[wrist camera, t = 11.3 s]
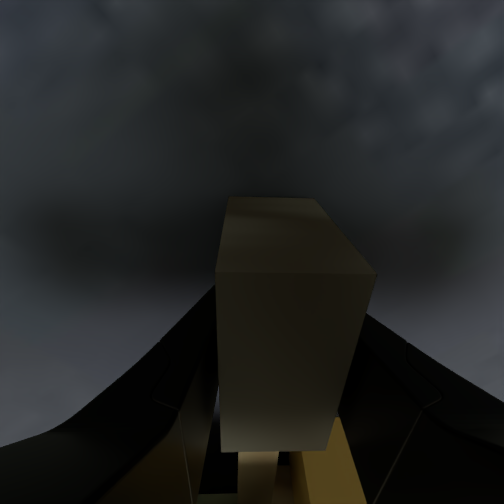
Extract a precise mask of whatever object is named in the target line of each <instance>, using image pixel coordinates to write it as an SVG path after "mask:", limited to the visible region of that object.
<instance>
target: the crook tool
mask: <svg viewBox="0 0 504 504" xmlns="http://www.w3.org/2000/svg"><path fill="white" fill-rule="evenodd" d="M376 277H377V273H376V272H375V271H374V270H373V269H372V267H371V266H370V265H369V264H368V263H367V261H366V260H365V259H364V258H363V256H362V255H361V254H360V253H359V252H358V250H357V249H356V248H355V247H354V246H353V244H352V243H351V242H350V241H349V240H348V238H347V237H346V236H345V235H344V234H343V232H342V231H341V230H340V229H339V228H338V226H337V225H336V224H335V223H334V222H333V220H332V219H331V218H330V217H329V216H328V214H327V213H326V212H325V211H324V210H323V208H322V207H321V206H320V205H319V204H318V202H317V201H316V200H315V199H314V198H278V197H238V196H229V197H228V203H227V208H226V214H225V219H224V225H223V230H222V236H221V241H220V247H219V252H218V258H217V263H216V269H215V288H216V317H217V345H218V374H219V402H220V430H221V452H238V500H237V504H294V497H293V489H292V481H291V474H290V466H289V465H277V462H278V455H279V451H326V448H327V444H328V441H329V437H330V434H331V431H332V427H333V424H334V420H335V417H336V414H337V410H338V407H339V403H340V400H341V396H342V393H343V390H344V386H345V383H346V379H347V376H348V372H349V369H350V366H351V362H352V359H353V355H354V352H355V348H356V345H357V342H358V338H359V335H360V331H361V328H362V324H363V321H364V318H365V314H366V311H367V307H368V304H369V301H370V297H371V294H372V290H373V287H374V283H375V280H376Z"/></svg>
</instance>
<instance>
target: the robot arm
mask: <svg viewBox="0 0 504 504" xmlns="http://www.w3.org/2000/svg"><path fill="white" fill-rule="evenodd" d="M218 386H219V374H218V345H217V317H216V288H215V285H214V286H213V287H212V288H211V289H210V290H209V291H208V292H207V293H206V294H205V295H204V296H203V297H202V298H201V299H200V300H199V301H198V302H197V303H196V304H195V305H194V306H193V307H192V308H191V309H190V310H189V311H188V312H187V313H186V314H185V315H184V316H183V317H182V318H181V319H180V320H179V321H178V322H177V323H176V324H175V325H174V326H173V327H172V328H171V329H170V330H169V331H168V332H167V334H166V335H165V336H164V337H163V338H162V339H161V340H160V342H157V344H156V345H155V346H154V347H153V348H152V349H151V350H150V351H149V352H147V353H146V354H145V355H144V356H143V357H142V358H141V359H140V360H139V361H138V362H137V363H136V364H135V365H134V366H132V367H131V368H130V369H129V370H128V371H127V372H125V373H124V374H123V375H122V376H121V377H120V378H118V379H117V380H116V381H115V382H114V383H112V384H111V385H110V386H109V387H108V388H106V389H105V390H104V391H103V392H102V393H100V394H99V395H98V396H97V397H95V398H94V399H93V400H92V401H91V402H89V403H88V404H87V405H86V406H85V407H83V408H82V409H81V410H80V411H79V412H77V413H76V414H75V415H73V416H72V417H71V418H69V419H68V420H66V421H65V422H63V423H62V424H60V425H58V426H57V427H55V428H53V429H51V430H49V431H47V432H44V433H42V434H39V435H36V436H33V437H30V438H27V439H24V440H21V441H18V442H15V443H12V444H9V445H6V446H3V447H0V504H197V499H198V493H199V488H200V482H201V477H202V472H203V466H204V461H205V456H206V450H207V445H208V439H209V434H210V429H211V423H212V418H213V413H214V407H215V402H216V397H217V391H218ZM337 411H338V414H339V417H340V420H341V423H342V427H343V430H344V433H345V436H346V439H347V442H348V445H349V449H350V452H351V455H352V458H353V461H354V464H355V468H356V471H357V474H358V477H359V480H360V483H361V486H362V490H363V493H364V496H365V499H366V502H367V504H504V402H502V401H501V400H499V399H497V398H496V397H494V396H492V395H491V394H489V393H487V392H486V391H484V390H482V389H481V388H479V387H477V386H476V385H474V384H472V383H471V382H469V381H467V380H466V379H464V378H463V377H461V376H459V375H458V374H456V373H454V372H453V371H451V370H450V369H448V368H446V367H445V366H443V365H442V364H440V363H438V362H437V361H435V360H434V359H432V358H431V357H429V356H428V355H426V354H425V353H423V352H422V351H420V350H419V349H417V348H416V347H415V346H413V345H412V344H410V343H407V341H406V340H404V339H403V338H402V337H400V336H399V335H397V334H396V333H394V332H393V331H391V330H390V329H389V328H387V327H386V326H384V325H383V324H381V323H380V322H378V321H377V320H376V319H374V318H373V317H371V316H370V315H368V314H367V313H366V314H365V318H364V321H363V324H362V328H361V331H360V335H359V338H358V342H357V345H356V348H355V352H354V355H353V359H352V362H351V366H350V369H349V372H348V376H347V379H346V383H345V386H344V390H343V393H342V396H341V400H340V403H339V407H338V410H337Z"/></svg>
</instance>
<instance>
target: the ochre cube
mask: <svg viewBox="0 0 504 504" xmlns="http://www.w3.org/2000/svg"><path fill="white" fill-rule="evenodd" d="M289 466H290V474H291V481H292V489H293V497H294V504H367V502H366V499H365V496H364V493H363V490H362V486H361V483H360V480H359V477H358V474H357V471H356V468H355V464H354V461H353V458H352V455H351V452H350V449H349V445H348V442H347V439H346V436H345V433H344V430H343V427H342V423H341V420H340V417H335V420H334V424H333V427H332V431H331V434H330V437H329V441H328V444H327V448H326V451H290V453H289Z"/></svg>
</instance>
